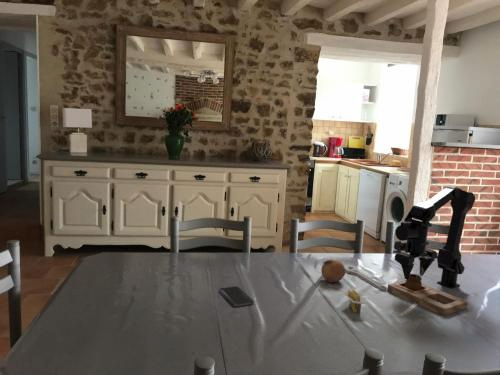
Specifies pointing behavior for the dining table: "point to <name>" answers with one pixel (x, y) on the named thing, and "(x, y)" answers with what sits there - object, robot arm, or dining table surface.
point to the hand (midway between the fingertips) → (413, 277)
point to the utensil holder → (414, 282)
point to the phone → (236, 296)
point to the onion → (333, 270)
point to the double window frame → (429, 298)
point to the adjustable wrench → (364, 277)
